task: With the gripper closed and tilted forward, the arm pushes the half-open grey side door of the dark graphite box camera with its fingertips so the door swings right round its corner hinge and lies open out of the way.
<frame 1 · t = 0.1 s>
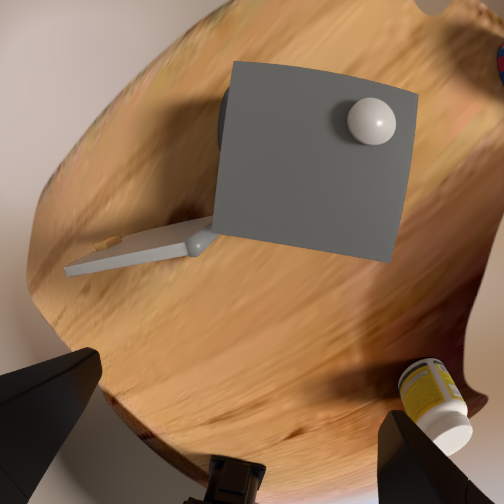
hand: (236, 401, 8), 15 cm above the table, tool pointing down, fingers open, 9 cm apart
supplement bottle: (420, 376, 23), on the table
camera body: (310, 160, 20), on the table
side door: (154, 238, 18), point 4 cm above the table, hinge at 160.0°
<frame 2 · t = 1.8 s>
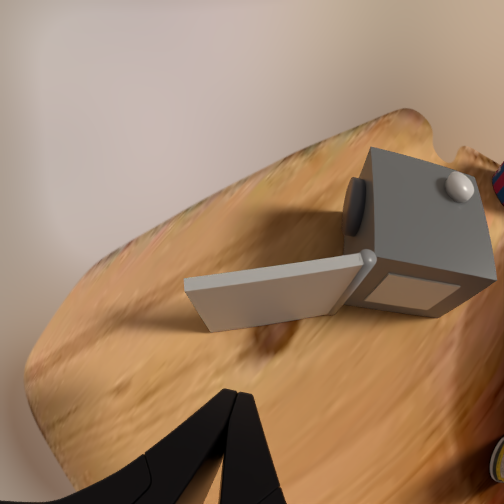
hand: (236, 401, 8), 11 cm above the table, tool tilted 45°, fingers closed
camera body: (393, 263, 22), on the table
side door: (278, 297, 17), point 4 cm above the table, hinge at 160.0°
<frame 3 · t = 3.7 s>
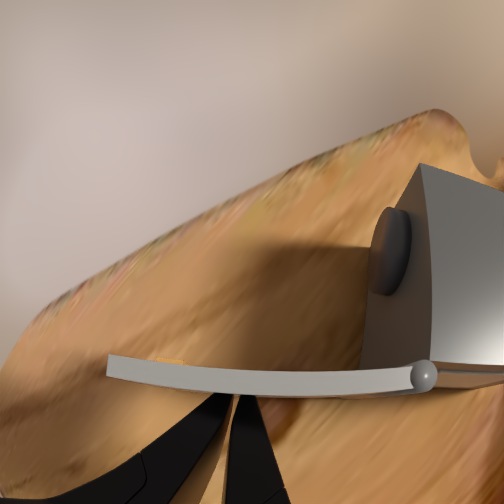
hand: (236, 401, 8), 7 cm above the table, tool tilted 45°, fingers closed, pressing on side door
camera body: (429, 319, 16), on the table
side door: (270, 384, 10), point 4 cm above the table, hinge at 170.3°, touching gripper
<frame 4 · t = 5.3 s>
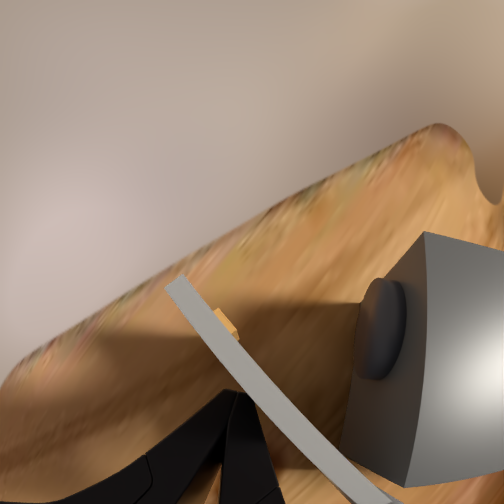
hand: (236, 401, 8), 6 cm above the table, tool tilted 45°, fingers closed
camera body: (422, 381, 14), on the table
side door: (281, 409, 10), point 4 cm above the table, hinge at 218.5°, touching gripper
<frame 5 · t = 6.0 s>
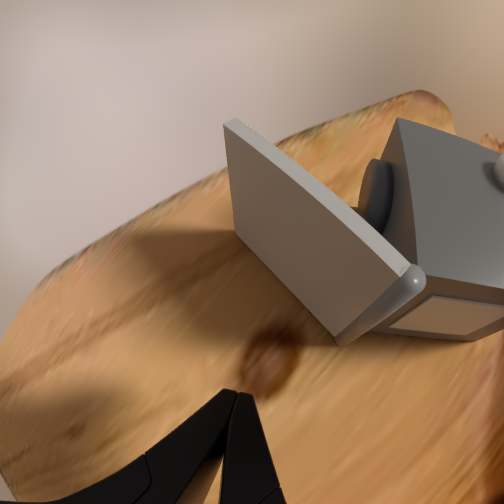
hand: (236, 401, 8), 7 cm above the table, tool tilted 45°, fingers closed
camera body: (420, 273, 17), on the table
side door: (303, 247, 13), point 4 cm above the table, hinge at 218.6°
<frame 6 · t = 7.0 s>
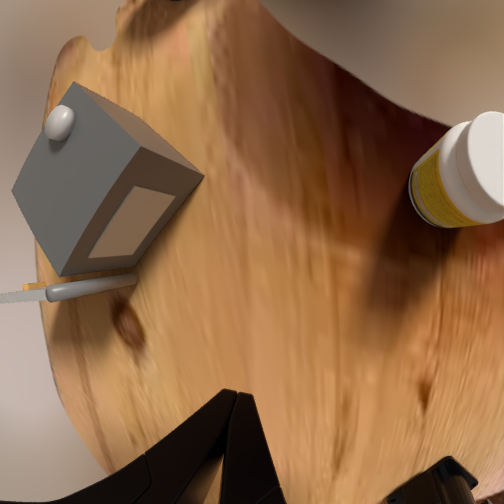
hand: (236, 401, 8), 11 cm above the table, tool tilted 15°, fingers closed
supplement bottle: (440, 190, 16), on the table
camera body: (134, 188, 21), on the table
side door: (60, 287, 18), point 4 cm above the table, hinge at 218.6°
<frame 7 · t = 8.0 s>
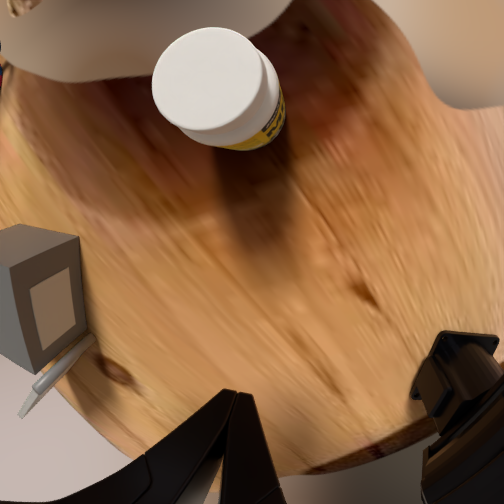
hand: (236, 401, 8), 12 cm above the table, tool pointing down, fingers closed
supplement bottle: (246, 112, 17), on the table
camera body: (49, 275, 23), on the table
side door: (51, 377, 21), point 4 cm above the table, hinge at 218.6°
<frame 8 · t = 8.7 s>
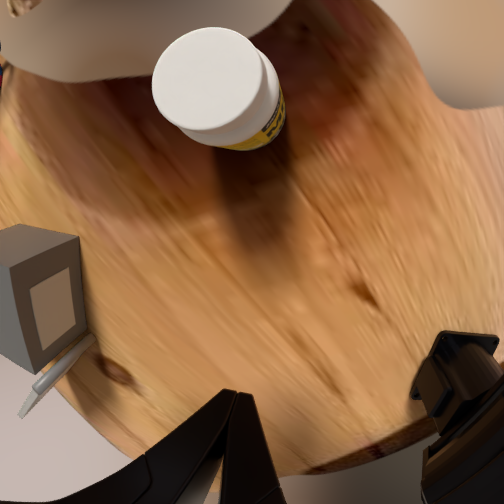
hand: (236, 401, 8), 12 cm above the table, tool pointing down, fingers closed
supplement bottle: (246, 112, 17), on the table
camera body: (49, 275, 23), on the table
side door: (51, 377, 21), point 4 cm above the table, hinge at 218.6°
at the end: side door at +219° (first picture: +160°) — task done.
